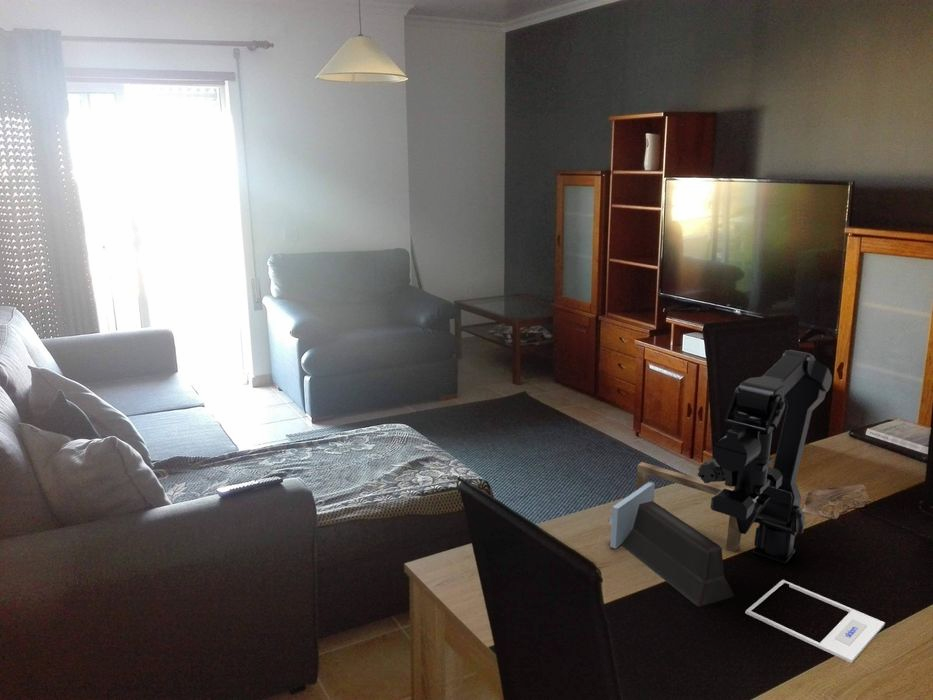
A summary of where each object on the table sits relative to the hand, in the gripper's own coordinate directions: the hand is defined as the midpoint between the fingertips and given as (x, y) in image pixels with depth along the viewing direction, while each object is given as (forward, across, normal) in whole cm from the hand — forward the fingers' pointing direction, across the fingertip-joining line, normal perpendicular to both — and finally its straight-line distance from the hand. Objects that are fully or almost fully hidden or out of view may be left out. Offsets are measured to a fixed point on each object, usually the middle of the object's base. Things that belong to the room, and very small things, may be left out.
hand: (742, 532), depth 136 cm
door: (+12, -7, -26) cm, 29 cm away
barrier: (+13, 0, -12) cm, 18 cm away
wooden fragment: (+13, -53, +4) cm, 55 cm away
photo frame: (+13, -1, +14) cm, 19 cm away
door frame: (+12, -15, -16) cm, 25 cm away
